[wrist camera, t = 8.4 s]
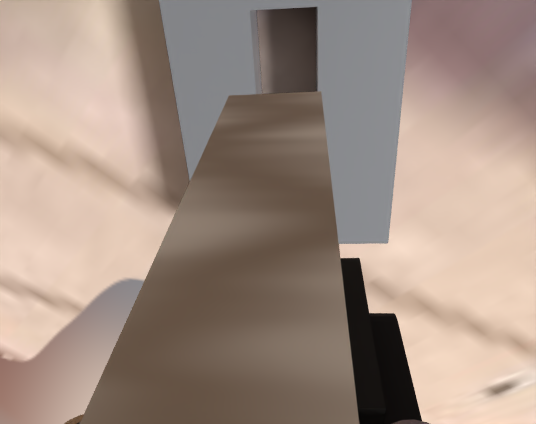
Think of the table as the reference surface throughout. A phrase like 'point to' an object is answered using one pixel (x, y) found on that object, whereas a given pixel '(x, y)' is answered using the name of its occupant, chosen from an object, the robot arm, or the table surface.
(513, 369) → the table surface
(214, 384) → the pine slat
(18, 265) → the table surface
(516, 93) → the table surface
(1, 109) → the table surface
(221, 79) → the grey slotted tile
